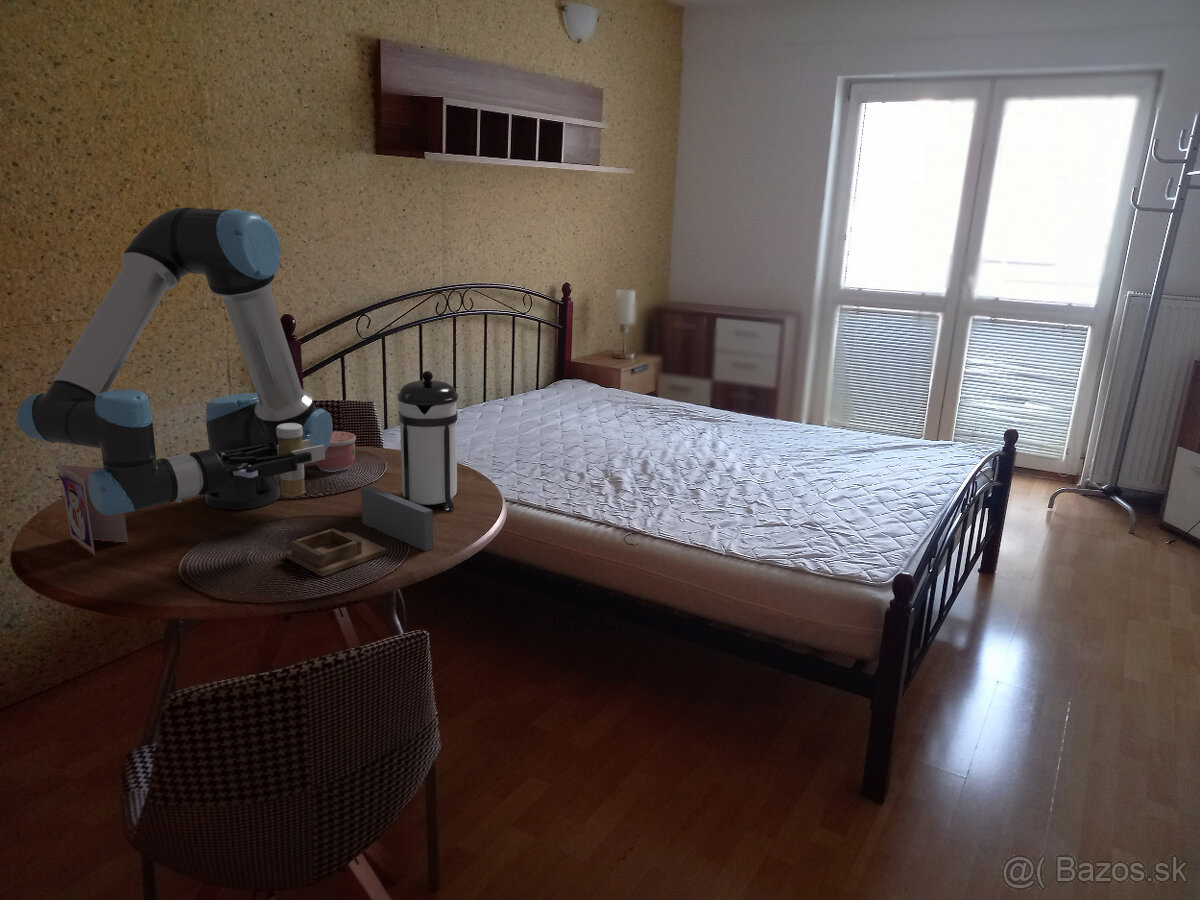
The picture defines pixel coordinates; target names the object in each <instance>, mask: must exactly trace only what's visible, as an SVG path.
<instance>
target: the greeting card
mask: <svg viewBox="0 0 1200 900" xmlns="http://www.w3.org/2000/svg"><path fill="white" fill-rule="evenodd" d="M102 468H103V467H97V466H85V465H84V466H83V465H82V466H81V465H67V464H59V471H60V474H57V475H58V477H59V479H60V480H61V482H62V488H63V495H64V502H65V508H66V516H67V521H68V527H69V534H70V537H71V536H72V537H73V538H74V539H76V540H77V541H78V542H80V543H81V544H82V545H84V546H85V547H86V548H88V549H89V550H90V551H92V552H93V553H94V554H95V555H96V552H95V544H94V541H93V538H94V539H102V540H109V541H119V542H127V543H126V544H129V539H128V532H127V530H128V529H127V524H126V517H125V513H120V514H114V515H103V514H101V513H100V512H98V511H97V510H96V508H95V507H94V505H93V503H92V501H91V498H90V495H89V490H88V483H89V481H88V478H89V475H90V474H91V473H92V472H94V471H97V470H99V469H102Z"/></svg>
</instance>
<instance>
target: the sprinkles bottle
mask: <svg viewBox="0 0 1200 900" xmlns="http://www.w3.org/2000/svg"><path fill="white" fill-rule="evenodd" d="M276 432H277V438H278V443H279V444H278V445H279V455H282V454H289V453H291V451H294V450H299V449H303V447H302V435H303V429H302V425H300V424H297V423H285V424H280V425H278V426H277V427H276ZM279 478H280V479H279V480H280V496H283V497H287V498H293V497H300V496H302V495H304V494H305V493H306V488H305V464H301V465H297V470H296V471H291V472H287V473H282V474H279Z"/></svg>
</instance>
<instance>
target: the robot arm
mask: <svg viewBox="0 0 1200 900" xmlns="http://www.w3.org/2000/svg"><path fill="white" fill-rule="evenodd" d="M281 248H282V247H281V243H280V240H279V237H278V235H277V233H276V231H275V229H274V227H273V225H272V224H271V223H270V222H269V221H268V220H267V219H266V218H265V217H263V216H262V215H259V214H258V213H255V212H252V211H244V210H241V209H238V208H237V209H236V208H234V209H233V208H231V209H218V208H217V209H214V208H200V207H199V208H196V207H189V206H187V207H186V206H184V207H178V208H174V209H173V208H172V209H171V210H168V211H166V212H164V213H161V214H160V215H159V216H157V217H155V218H154V219H152V220H151V221H150V222H149V223H147V224H146V225H145V226H144V227H143V228H142V229H141V230H140V231H139V232H138V233H137V235H136V236H135V237H133V239H132V241H131V242H130V243H129V244H128V246H127V247H126V249H125V250H124V252H123V254H122V255H121V258H120V264H121V265H122V268H121V270H120V272H119V273H118V275H117V276H116V277H115V279H114V281H113V282H112V284H111V286H110V288H109V289H108V290H107V292H106V295H105V296H104V297H103V299H102V301H100V304H99V305H98V307H97V309H96V311H95V312H94V314H93V315H92V317H91V319H90V320H89V322H88V324H87V325H86V327H85V329H84V330H83V332H82V334H80V336H79V338H78V339H77V342H76V343H75V345H74V346H73V349H72V350H71V352H70V353H69V354H68V356H67V358H66V359H65V362H64V363H63V365H62V366H61V368H60V369H59V371H58V373H56V376H55V377H54V380H53V381H52V383H51V384H50V386H49V387H48V389H47V391H46V392H44V393H42V392H41V393H34V394H31V395H29V396H27V397H26V398H25V399H23V400H22V401H21V403H20V404H19V406H18V408H17V412H16V421H17V424H18V427H19V428H20V430H21V431H22V433H24V434H25V436H28V437H29V438H32V439H35V440H40V441H45V442H49V443H52V444H53V443H60V444H67V445H76V446H77V445H78V446H80V447H81V446H82V447H89V448H90V447H91V448H95V449H100V451H101V458H102V466H103V467H101V468H102V469H99V470H97V471H94V472H92V473H91V474H90V475H89V478H88V481H89V483H88V490H89V495H90V498H91V501H92V503H93V505H94V507H95V508H96V510H97V511H98V512H100V513H101V514H103V515H114V514H120V513H124V514H126V513H135V512H136V511H140V510H145V509H148V508H152V507H156V506H160V505H163V504H168V503H173V502H176V503H180V504H181V503H182V502H183V500H187V499H190V498H195V497H198V495H199V496H204V498H205V499H204V500H205V503H206V505H208V507H211V508H213V509H219V510H224V511H225V510H226V511H227V510H229V511H239V510H249V509H255V508H259V507H264V506H267V505H269V504H270V505H271V503H274V502H275V501H277V500H278V499H279V498H280V496H281V493H280V491H281V488H280V484H279V482H278V480H277V477H276V476H278V475H280V474H282V473H287V472H291V471H296V470H297V465H301V464H304V465H305V464H312V463H315V461H319V460H324V459H325V452H326V450H327V448H328V446H329V443H330V440H331V436H332V431H333V427H334V426H333V425H334V424H333V418H332V416H331V413H330V412H328V411H327V410H325V409H323V408H317V407H316V404H315V402H314V398H313V395H312V394H311V393H310V392H309V391H308V390H306V389H303V388H302V386H301V382H300V379H299V376H298V372H297V369H296V367H295V363H294V359H293V357H292V356H293V355H292V353H291V351H290V350H291V349H290V346H289V342H288V341H287V338H286V333H285V331H284V328H283V325H282V322H281V318H280V315H279V311H278V308H277V306H276V302H275V299H274V296H273V293H272V289H271V286H272V284H273V283H274V281H275V280H276V272H277V271H278V270H279V267H280V264H281V258H280V256H281V254H282V249H281ZM189 274H200V275H201V274H202V275H204V276H205V278H206V281H207V284H208V288H209V289H210V291H211V293H213V294H214V295H217V296H219V297H220V298H222V300H223V303H224V305H225V308H226V311H227V313H228V316H229V319H230V322H231V325H232V328H233V331H234V333H235V334H234V335H235V336H236V339H237V342H238V345H239V348H240V350H241V354H242V355H243V359H244V362H245V365H246V367H247V370H248V372H249V376H250V379H251V381H252V384H253V387H254V389H255V392H246V393H245V392H244V393H236V394H229V395H225V396H224V395H223V396H220V397H217V398H214V399H212V400H210V401H209V402H208V403H207V404H206V406H205V423H206V433H207V440H208V441H207V442H208V449H204V450H198V451H195V452H190V453H183V454H182V453H181V454H175V455H172V456H167V457H166V456H165V457H162V458H157V453H156V444H155V435H154V434H155V433H154V416H153V413H152V412H151V411H152V410H151V404H150V401H149V397H148V395H147V394H146V393H145V392H143V391H141V390H138V389H137V390H136V389H114V390H110V388H111V386H112V385H113V382H114V380H115V379H116V378H117V376H118V374H119V373H120V371H121V369H122V367H123V365H124V363H125V362H126V360H127V358H128V357H129V355H130V353H131V352H132V350H133V348H134V346H135V345H136V343H137V341H138V339H139V338H140V336H141V335H142V332H143V330H144V329H145V327H146V325H147V324H148V322H149V320H150V318H151V317H152V315H153V313H154V311H155V310H156V308H157V306H158V305H159V303H160V302H161V300H162V298H163V296H164V294H165V293H166V291H170V290H173V289H175V288H176V286H177V285H178V283H179V281H180V280H181V279H182V278H183V277H185V276H186V275H189ZM285 423H297V424H300V425H302V429H303V435H302V447H303V449H299V450H294V451H291V453H289V454H282V455H279V445H278V444H279V443H278V438H277V432H276V427H277V426H278V425H280V424H285Z"/></svg>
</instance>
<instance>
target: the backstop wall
mask: <svg viewBox="0 0 1200 900" xmlns="http://www.w3.org/2000/svg"><path fill="white" fill-rule="evenodd" d="M360 495H361V497H360V498H361V515H362V516H361V517H362V519H361V521H362V524H363V523H364V524H366V525H365V526H367V525H368V526H367V527H369V526H370V527H369V528H371V527H373V528H375V529H374V530H376V529H377V530H376V531H378V530H379V532H380V531H382V532H381V533H383V532H384V533H383V534H385V533H386V534H385V535H387V534H388V535H387V536H389V535H390V536H389V537H392V538H394V539H396V538H397V539H396V540H398V539H399V541H401V540H402V541H401V542H403V541H404V542H403V543H405V542H406V543H405V544H407V543H408V545H411V547H415V548H416V549H418V550H421V551H424V552H427V551H430V550H433V549H434V524H433V523H434V520H433V519H434V513H433V509H431V508H428V507H425V506H423V505H422V504H417V503H413V502H411V501H408V500H406V499H404V497H400V496H398V495H395V494H393V493H390V492H387V491H385V490H382V489H380V488H377V487H375V486H372V485H370V484H369V485H365V486H362V487H360ZM364 524H363V525H364ZM373 528H372V529H373Z"/></svg>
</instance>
